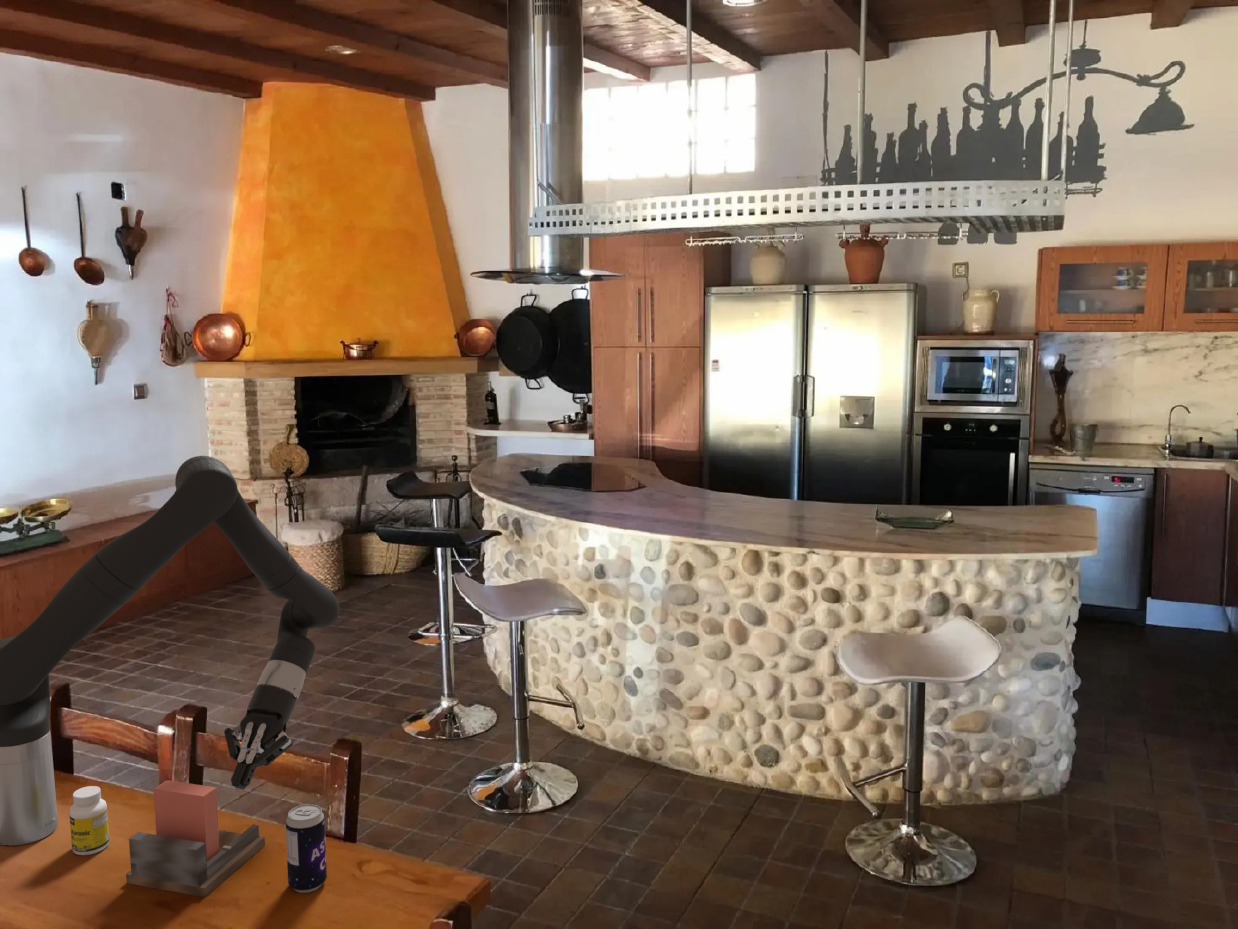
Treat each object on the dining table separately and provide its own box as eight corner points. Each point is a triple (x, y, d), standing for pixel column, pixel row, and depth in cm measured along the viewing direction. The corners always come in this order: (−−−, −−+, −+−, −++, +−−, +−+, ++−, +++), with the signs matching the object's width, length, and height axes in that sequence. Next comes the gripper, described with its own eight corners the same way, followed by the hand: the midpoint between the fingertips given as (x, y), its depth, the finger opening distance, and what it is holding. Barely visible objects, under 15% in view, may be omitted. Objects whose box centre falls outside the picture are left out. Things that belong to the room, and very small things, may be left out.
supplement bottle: (64, 852, 158) (59, 795, 156) (93, 836, 163) (89, 781, 161) (88, 859, 156) (84, 802, 154) (117, 842, 161) (113, 787, 159)
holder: (126, 883, 149) (123, 837, 148) (191, 834, 164) (189, 792, 163) (204, 897, 146) (202, 851, 145) (264, 845, 160) (262, 803, 159)
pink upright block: (158, 860, 152) (153, 788, 151) (171, 850, 155) (166, 780, 154) (207, 869, 150) (203, 796, 148) (220, 859, 153) (216, 787, 151)
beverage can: (315, 898, 146) (312, 823, 144) (281, 893, 147) (277, 819, 146) (333, 877, 152) (331, 805, 150) (300, 872, 153) (297, 801, 151)
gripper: (235, 679, 172) (192, 775, 162) (301, 686, 169) (261, 785, 159) (255, 696, 178) (215, 790, 168) (319, 704, 175) (282, 800, 165)
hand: (237, 787), depth 164 cm, fingers closed
